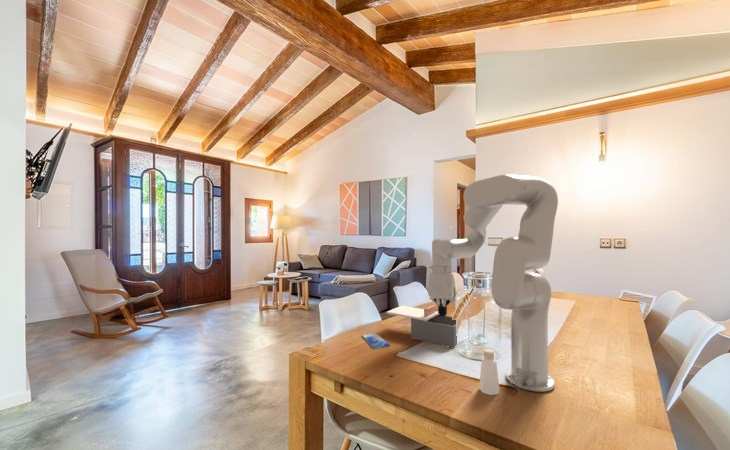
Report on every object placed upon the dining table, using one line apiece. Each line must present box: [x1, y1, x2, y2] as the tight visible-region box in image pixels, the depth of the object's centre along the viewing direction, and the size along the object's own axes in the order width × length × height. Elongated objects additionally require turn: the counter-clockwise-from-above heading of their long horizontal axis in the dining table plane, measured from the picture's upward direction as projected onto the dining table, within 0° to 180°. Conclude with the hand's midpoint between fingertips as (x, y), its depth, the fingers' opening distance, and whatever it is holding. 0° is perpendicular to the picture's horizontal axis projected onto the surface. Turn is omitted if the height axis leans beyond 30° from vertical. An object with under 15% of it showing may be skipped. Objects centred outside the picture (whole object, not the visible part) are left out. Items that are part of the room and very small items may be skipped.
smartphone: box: [361, 332, 392, 350], centre depth 126 cm, size 7×1×15 cm
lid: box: [386, 304, 439, 321], centre depth 135 cm, size 12×18×4 cm
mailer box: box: [410, 314, 457, 349], centre depth 128 cm, size 12×18×8 cm, turn 53°
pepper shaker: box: [478, 348, 501, 396], centre depth 88 cm, size 5×5×11 cm
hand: (442, 315), depth 126 cm, fingers closed
